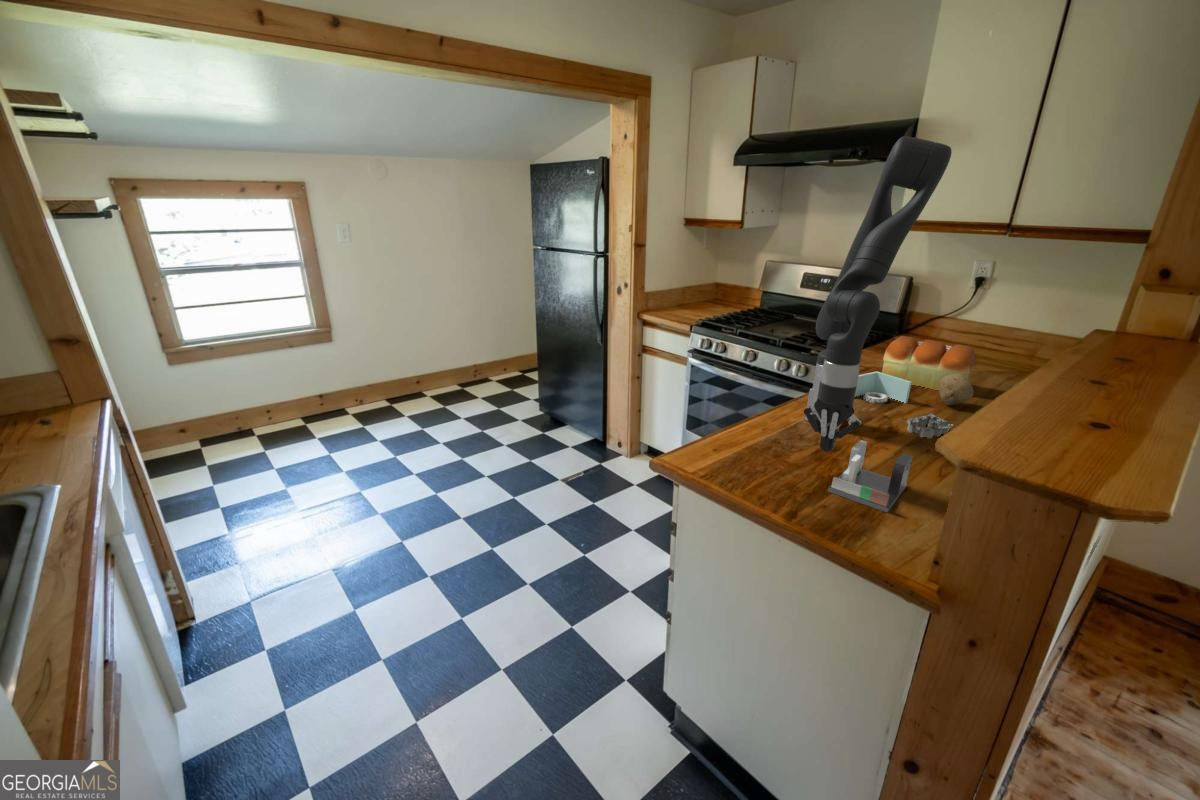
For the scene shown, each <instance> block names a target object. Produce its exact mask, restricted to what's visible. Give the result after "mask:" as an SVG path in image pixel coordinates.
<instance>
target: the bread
mask: <svg viewBox="0 0 1200 800" xmlns="http://www.w3.org/2000/svg"><path fill="white" fill-rule="evenodd" d="M918 342H919V341H917V339H916V338H914V337H913V336H905V335H901V336H899V337H897V338H896V339H894V340H893V341H892V342H890V343H889V345H888V346H887V348H886V349H885V352H884V354H883V358H882V360H883V364H882V369H881V373H884V374H887V375H891V376H894V377H897V378H900V379H904V380H907V381H910V382H912V384H911V385H916V386H921V387H925V388H924V389H926V388H930V389H934V390H933V391H935V390H939V383H940V381H941V379H943V378H944V377H946V376H948V375H953V374H955V375H957V374H960V375H963V376H965V377H966V378H967V379H968V380H969V381H970V378H971V377H970V376H971V373H972V369H974V367H975V365H976V360H977V356H976V355H977V354H976V353H975V350H974V349H973V348H972V347H971V346H970V345H964V344H958V343H956V344H955V345H953V346H951V348H950V349H949V350H948V351H947V348H946V344H945V343H944V342H942V341H936V340H931V339H925V340H923V341H921V342H922V343H921V344H920V345H919V343H918ZM916 386H915V387H916ZM921 387H920V388H921ZM930 389H929V390H930Z"/></svg>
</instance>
